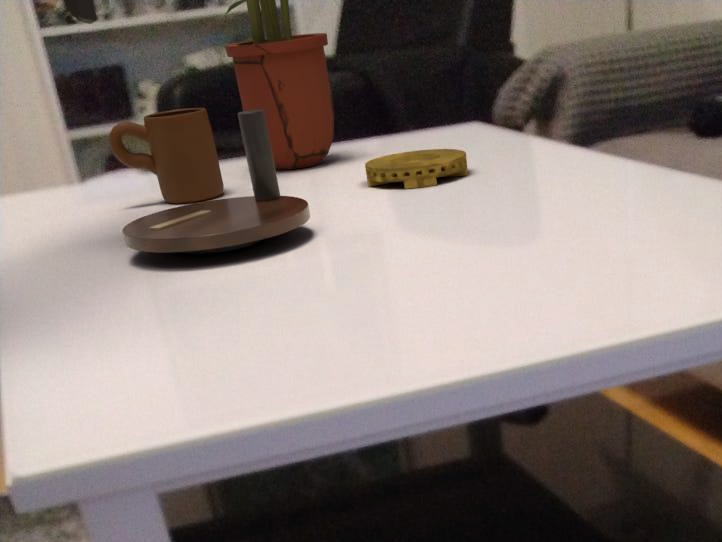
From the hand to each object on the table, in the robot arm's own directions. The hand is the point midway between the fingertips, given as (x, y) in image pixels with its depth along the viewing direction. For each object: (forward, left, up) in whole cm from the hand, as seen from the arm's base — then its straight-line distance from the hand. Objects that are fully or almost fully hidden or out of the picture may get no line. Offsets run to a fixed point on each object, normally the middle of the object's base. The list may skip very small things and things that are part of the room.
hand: (119, 2), depth 93 cm
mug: (-7, +24, -21) cm, 33 cm away
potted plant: (+6, +40, -21) cm, 45 cm away
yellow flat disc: (+23, +23, -21) cm, 39 cm away
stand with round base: (+6, -4, -21) cm, 22 cm away
